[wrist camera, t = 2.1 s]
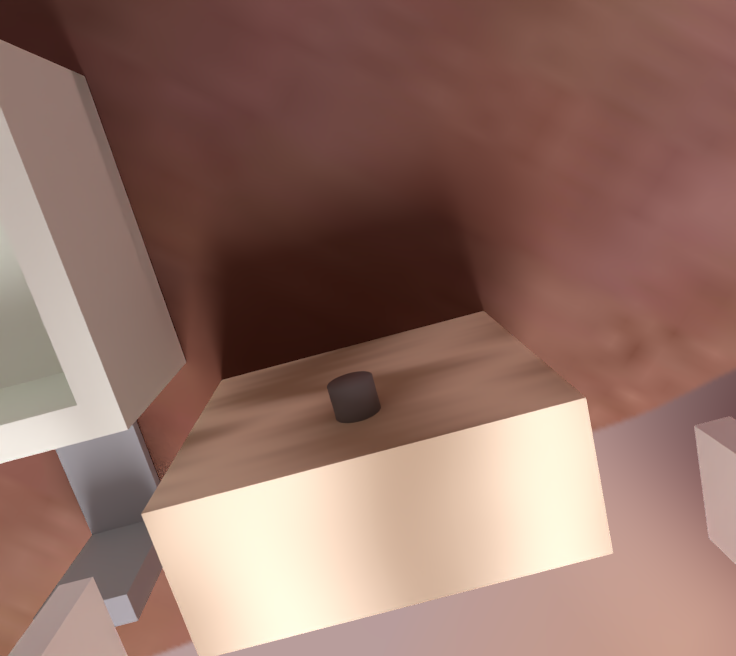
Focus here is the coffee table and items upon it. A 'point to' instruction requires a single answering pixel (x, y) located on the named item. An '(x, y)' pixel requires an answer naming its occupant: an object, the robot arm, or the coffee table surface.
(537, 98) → the coffee table surface
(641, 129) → the coffee table surface
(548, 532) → the knobbed wooden block
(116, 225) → the box
